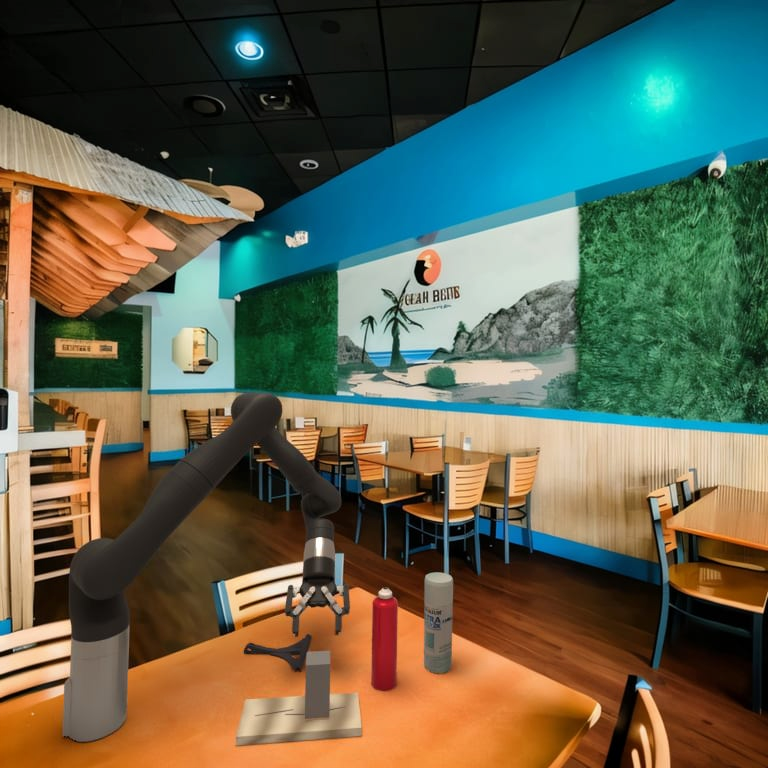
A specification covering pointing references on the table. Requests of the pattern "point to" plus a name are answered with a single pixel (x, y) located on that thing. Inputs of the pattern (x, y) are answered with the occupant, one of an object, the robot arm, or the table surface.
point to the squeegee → (284, 652)
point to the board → (297, 720)
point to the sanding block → (317, 686)
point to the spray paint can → (438, 622)
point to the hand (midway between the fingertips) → (317, 635)
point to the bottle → (384, 641)
